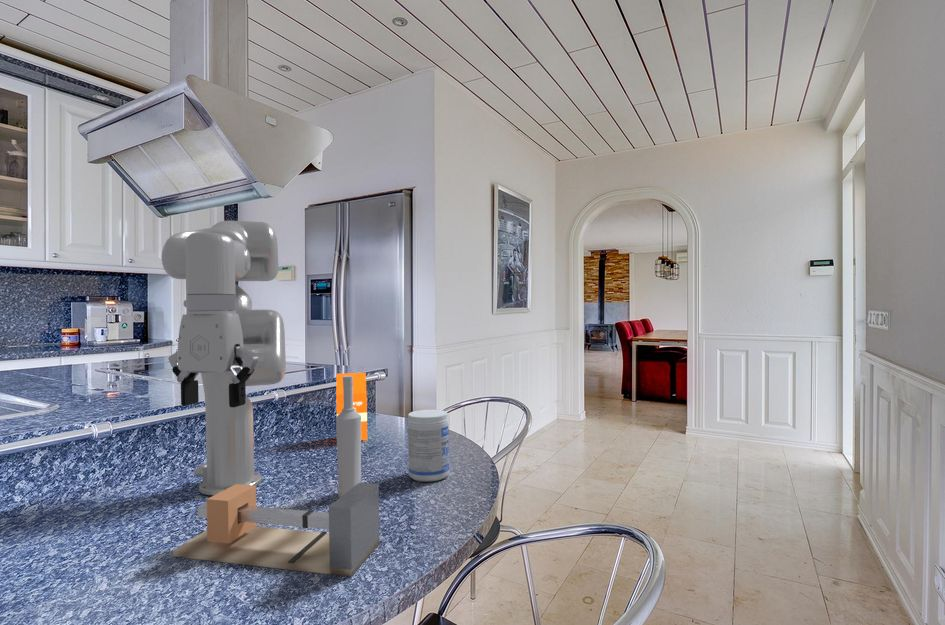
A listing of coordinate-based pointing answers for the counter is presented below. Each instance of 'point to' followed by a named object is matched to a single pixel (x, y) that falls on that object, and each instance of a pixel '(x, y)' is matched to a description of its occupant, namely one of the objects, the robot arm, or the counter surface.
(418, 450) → the supplement tub
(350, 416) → the bottle
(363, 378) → the orange juice
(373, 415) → the counter surface
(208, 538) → the tan notched block
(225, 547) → the base board
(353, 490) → the slider rail assembly
